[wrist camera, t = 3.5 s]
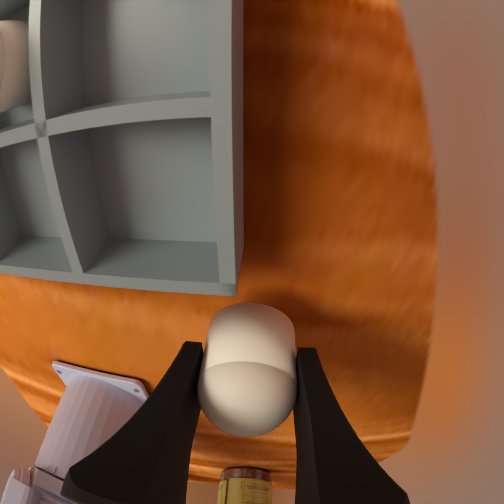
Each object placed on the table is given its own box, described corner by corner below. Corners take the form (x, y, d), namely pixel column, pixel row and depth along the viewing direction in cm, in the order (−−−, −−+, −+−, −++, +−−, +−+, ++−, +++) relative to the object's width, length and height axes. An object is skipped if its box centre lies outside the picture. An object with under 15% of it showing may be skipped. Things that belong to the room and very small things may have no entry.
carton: (243, 245, 12) (236, 296, 10) (-25, 237, 13) (-54, 264, 11) (244, -55, 6) (233, -92, 3) (-59, 62, 7) (-97, 74, 4)
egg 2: (290, 360, 14) (291, 451, 10) (213, 356, 14) (197, 445, 10) (299, 304, 12) (305, 411, 8) (205, 300, 12) (180, 403, 8)
